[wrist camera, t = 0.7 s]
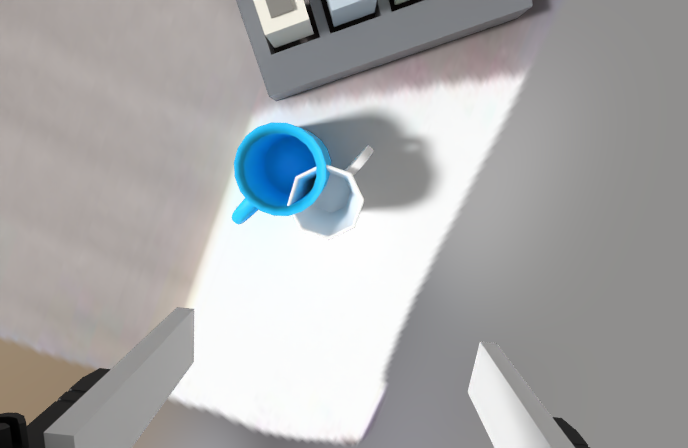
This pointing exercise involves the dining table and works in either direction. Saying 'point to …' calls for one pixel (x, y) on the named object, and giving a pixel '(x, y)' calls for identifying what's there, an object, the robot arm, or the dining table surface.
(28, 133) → the dining table surface
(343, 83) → the dining table surface
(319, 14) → the grey board
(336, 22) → the key blue
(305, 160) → the mug
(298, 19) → the key ivory
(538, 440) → the robot arm
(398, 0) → the pale green square block
